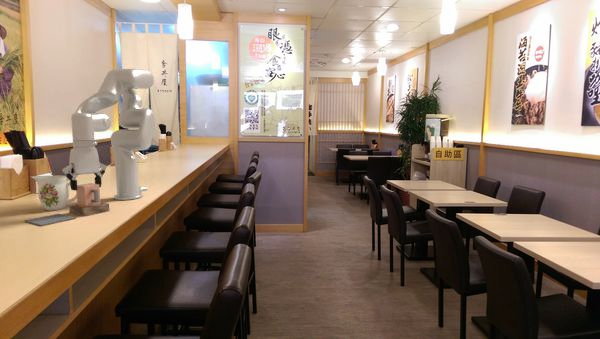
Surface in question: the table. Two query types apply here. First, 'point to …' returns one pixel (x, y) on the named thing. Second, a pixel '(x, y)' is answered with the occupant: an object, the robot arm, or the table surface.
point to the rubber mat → (50, 219)
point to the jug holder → (89, 209)
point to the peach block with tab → (88, 195)
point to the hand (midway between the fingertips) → (86, 188)
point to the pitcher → (53, 191)
